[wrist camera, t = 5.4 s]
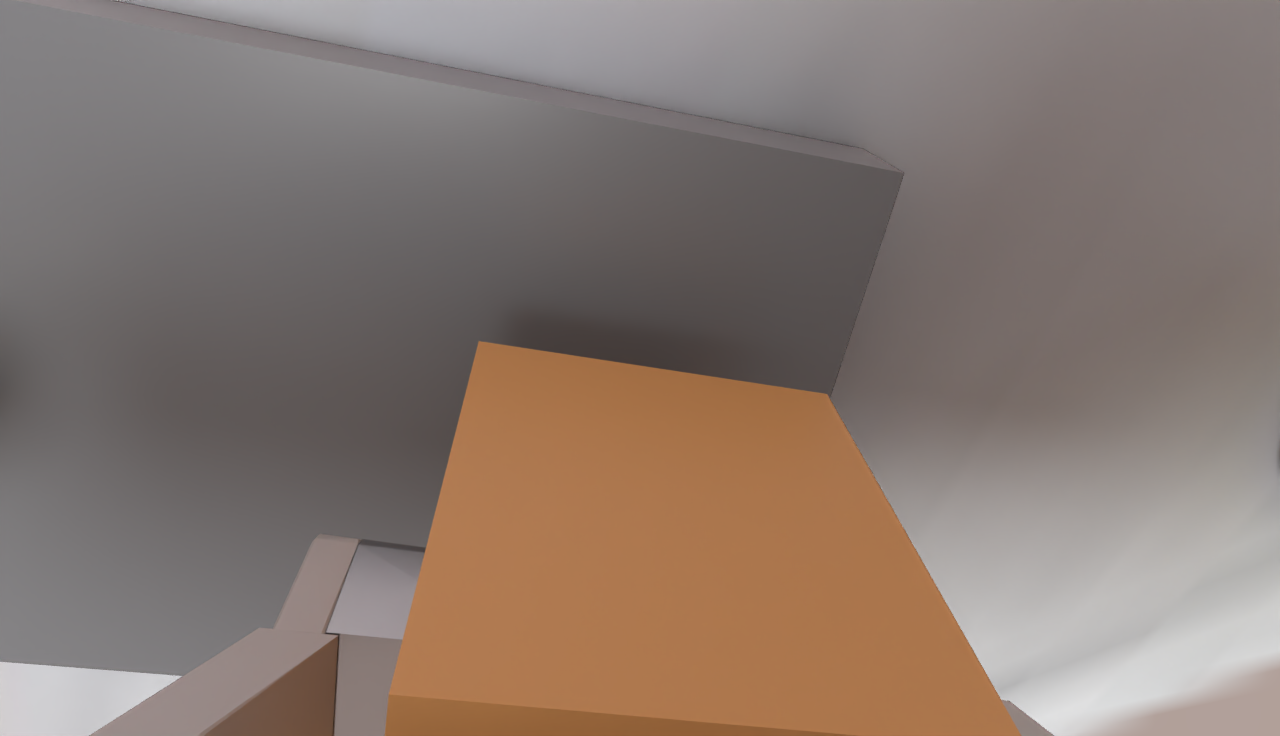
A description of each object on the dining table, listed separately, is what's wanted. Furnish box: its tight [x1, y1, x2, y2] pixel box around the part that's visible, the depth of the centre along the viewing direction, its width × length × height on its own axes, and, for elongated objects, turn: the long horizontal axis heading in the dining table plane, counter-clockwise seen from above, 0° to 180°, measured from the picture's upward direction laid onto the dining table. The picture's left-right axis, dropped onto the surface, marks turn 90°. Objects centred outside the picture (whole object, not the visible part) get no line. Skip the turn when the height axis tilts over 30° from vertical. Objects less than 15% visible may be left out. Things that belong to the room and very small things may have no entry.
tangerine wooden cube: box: [385, 341, 1021, 736], centre depth 10 cm, size 5×5×6 cm
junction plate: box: [0, 0, 904, 676], centre depth 13 cm, size 20×12×7 cm, turn 79°
